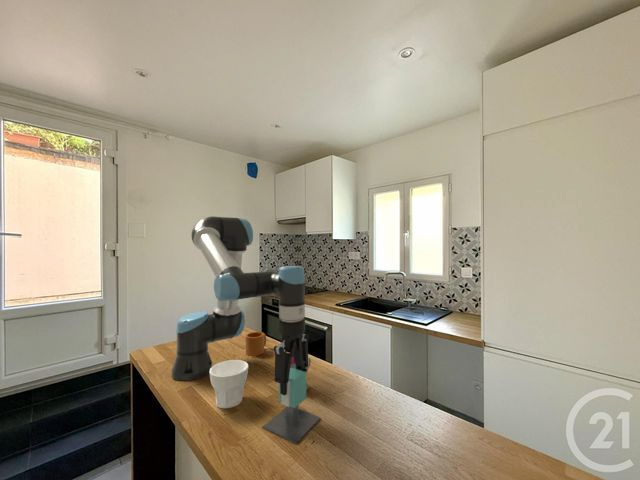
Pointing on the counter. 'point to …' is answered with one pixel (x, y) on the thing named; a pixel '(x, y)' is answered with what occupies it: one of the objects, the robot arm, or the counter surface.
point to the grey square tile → (292, 424)
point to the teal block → (296, 387)
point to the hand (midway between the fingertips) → (292, 399)
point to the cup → (229, 382)
